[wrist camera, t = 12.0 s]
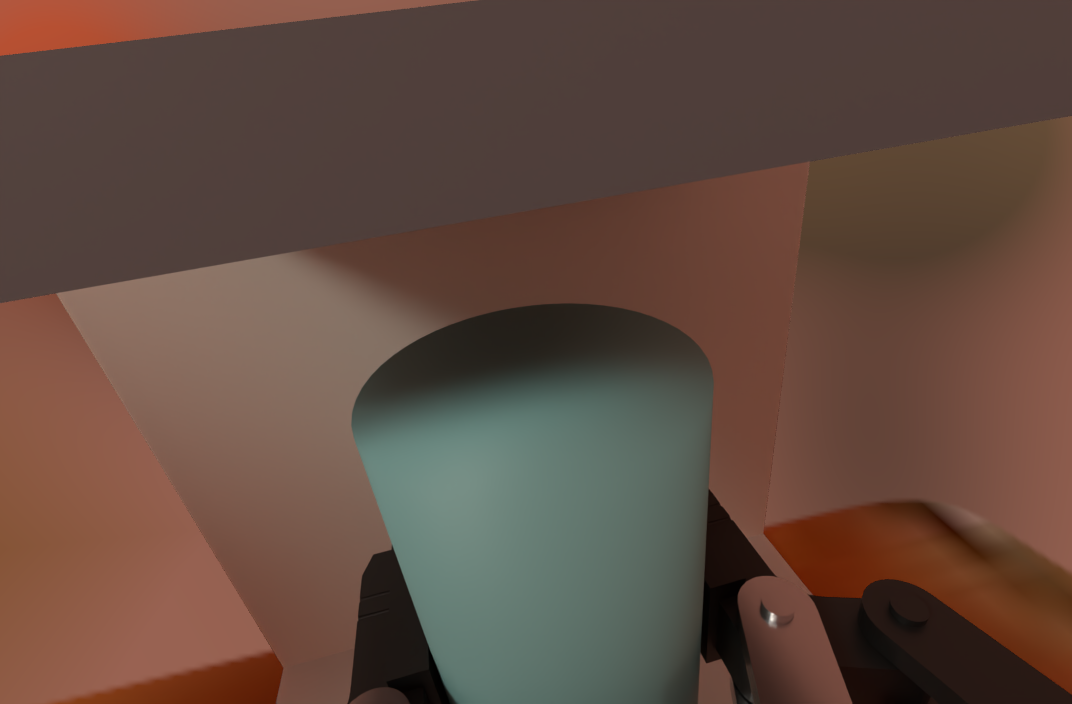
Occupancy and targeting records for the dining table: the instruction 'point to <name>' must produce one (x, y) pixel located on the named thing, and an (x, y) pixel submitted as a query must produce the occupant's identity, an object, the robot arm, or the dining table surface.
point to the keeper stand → (454, 225)
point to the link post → (548, 501)
